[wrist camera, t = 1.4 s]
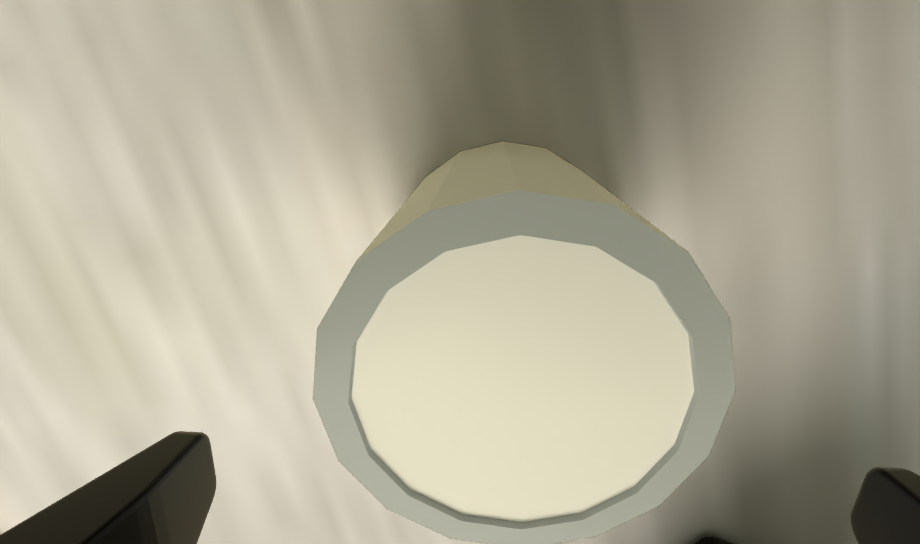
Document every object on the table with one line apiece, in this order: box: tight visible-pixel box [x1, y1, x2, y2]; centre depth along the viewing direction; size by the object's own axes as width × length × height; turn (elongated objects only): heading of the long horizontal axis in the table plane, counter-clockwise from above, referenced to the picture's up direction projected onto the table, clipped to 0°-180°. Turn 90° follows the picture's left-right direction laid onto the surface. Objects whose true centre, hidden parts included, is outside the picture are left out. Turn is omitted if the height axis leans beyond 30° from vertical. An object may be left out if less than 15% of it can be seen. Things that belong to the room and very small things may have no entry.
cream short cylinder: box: [313, 141, 735, 544], centre depth 13 cm, size 7×7×7 cm
